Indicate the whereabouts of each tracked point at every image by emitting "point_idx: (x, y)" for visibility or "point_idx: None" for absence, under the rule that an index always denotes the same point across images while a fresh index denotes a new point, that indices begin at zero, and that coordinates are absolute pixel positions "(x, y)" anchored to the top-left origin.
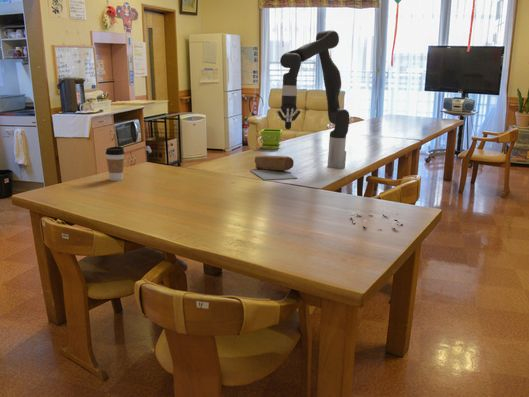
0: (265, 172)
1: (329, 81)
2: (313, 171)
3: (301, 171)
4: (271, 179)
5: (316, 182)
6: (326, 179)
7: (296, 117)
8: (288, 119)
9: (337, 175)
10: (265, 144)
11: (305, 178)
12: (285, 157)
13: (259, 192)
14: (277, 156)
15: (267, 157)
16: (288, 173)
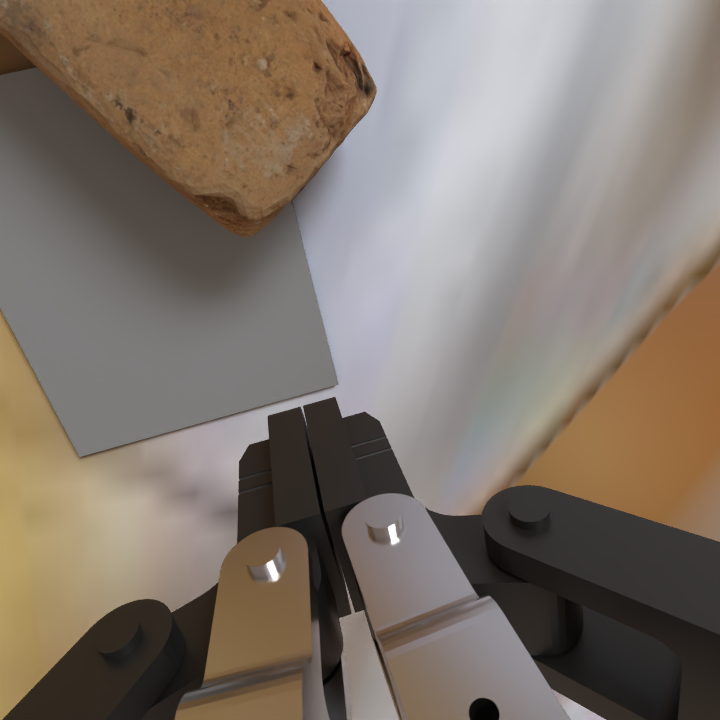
0: (76, 205)
1: None
2: (539, 87)
3: (434, 90)
4: (137, 439)
5: (436, 459)
6: (527, 374)
7: (675, 671)
8: (345, 708)
9: (655, 242)
10: None
11: (397, 361)
12: (272, 207)
13: None
14: (178, 106)
15: (42, 64)
16: (292, 234)
